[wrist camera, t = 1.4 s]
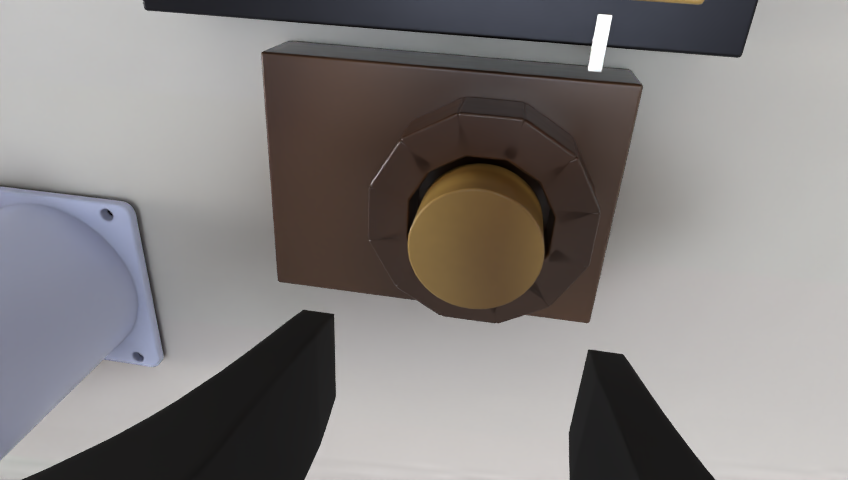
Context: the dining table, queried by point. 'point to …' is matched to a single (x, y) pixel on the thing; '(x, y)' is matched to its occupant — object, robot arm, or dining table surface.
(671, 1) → the tan block
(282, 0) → the plate
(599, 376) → the robot arm
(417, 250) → the button
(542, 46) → the dining table surface
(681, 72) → the dining table surface
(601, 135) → the block
